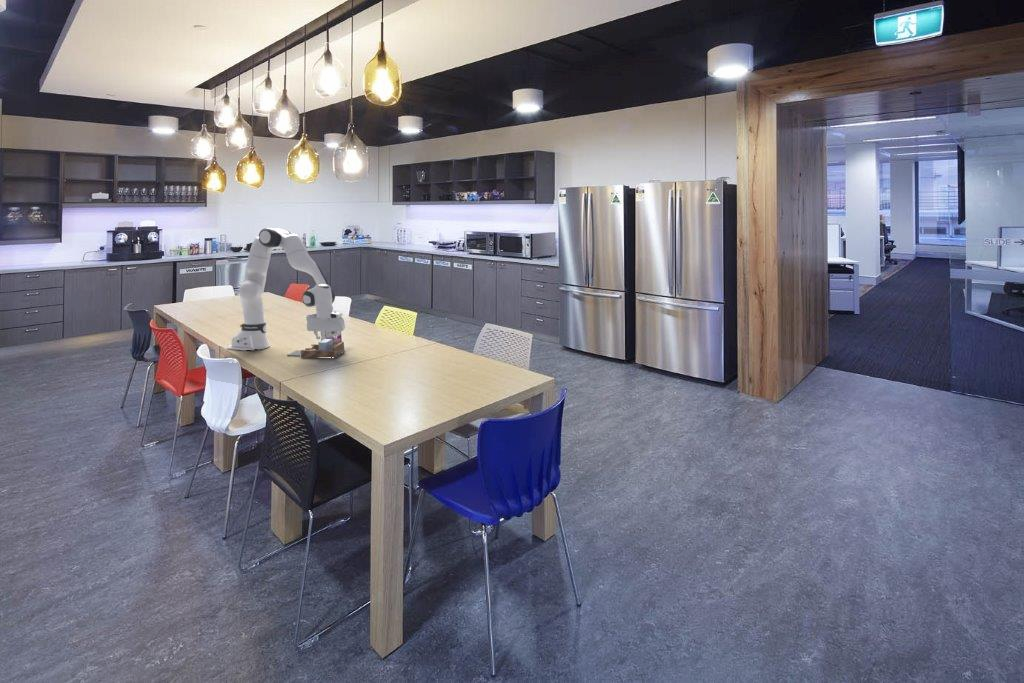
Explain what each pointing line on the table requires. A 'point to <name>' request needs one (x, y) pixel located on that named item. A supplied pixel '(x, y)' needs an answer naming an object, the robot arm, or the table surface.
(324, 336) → the candy bar box
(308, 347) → the offcut short
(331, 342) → the blue-grey box
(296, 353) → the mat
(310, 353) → the tray
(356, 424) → the table surface
